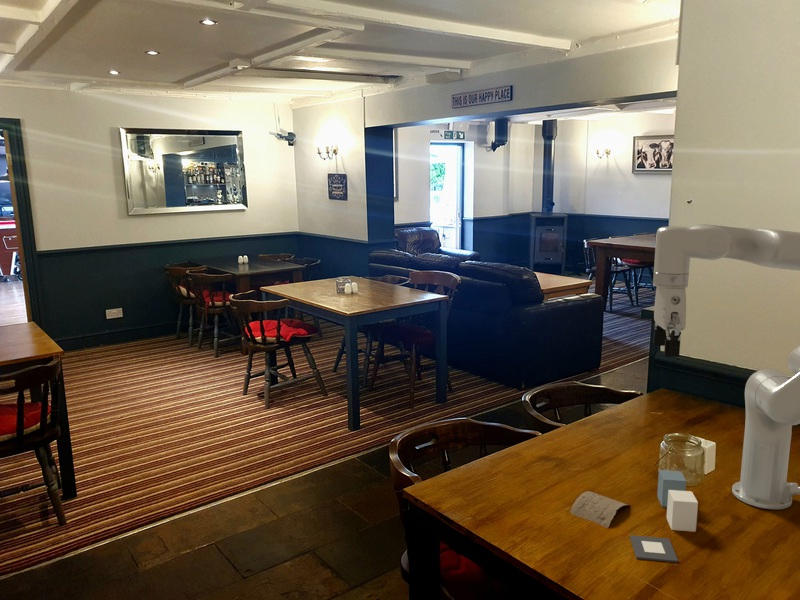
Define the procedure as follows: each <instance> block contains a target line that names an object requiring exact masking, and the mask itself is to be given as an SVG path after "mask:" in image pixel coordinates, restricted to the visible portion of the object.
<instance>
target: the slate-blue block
mask: <svg viewBox="0 0 800 600" xmlns="http://www.w3.org/2000/svg"><path fill="white" fill-rule="evenodd" d="M657 480H658V482H657V495H656V496H657V499H658V502H659V501H660V502H659V504H660V506H661V507H662V508H667V503H668V490H678V491H687V490H686V489H687V480H686V478H685V477H684V474H683V473H682V471H680V470H668V469H667V470H665V469H659V470H658V479H657Z"/></svg>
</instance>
